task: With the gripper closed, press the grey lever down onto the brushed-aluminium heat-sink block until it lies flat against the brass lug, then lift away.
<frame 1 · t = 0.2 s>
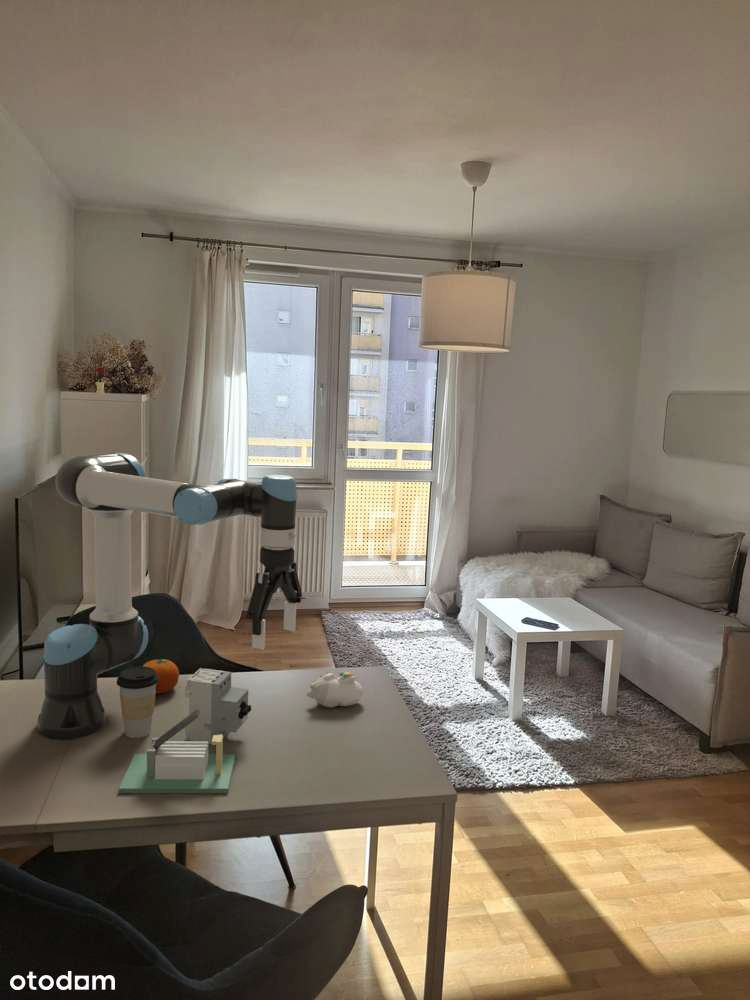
hand: (274, 638, 164), 28 cm above the table, fingers open, 13 cm apart
circuit breaker: (219, 737, 175), on the table
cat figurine: (334, 705, 196), on the table
grey lever: (174, 730, 156), point 10 cm above the table, hinge at 40.0°
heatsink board: (179, 774, 158), on the table
fruit: (158, 690, 199), on the table
coffee cup: (137, 733, 175), on the table
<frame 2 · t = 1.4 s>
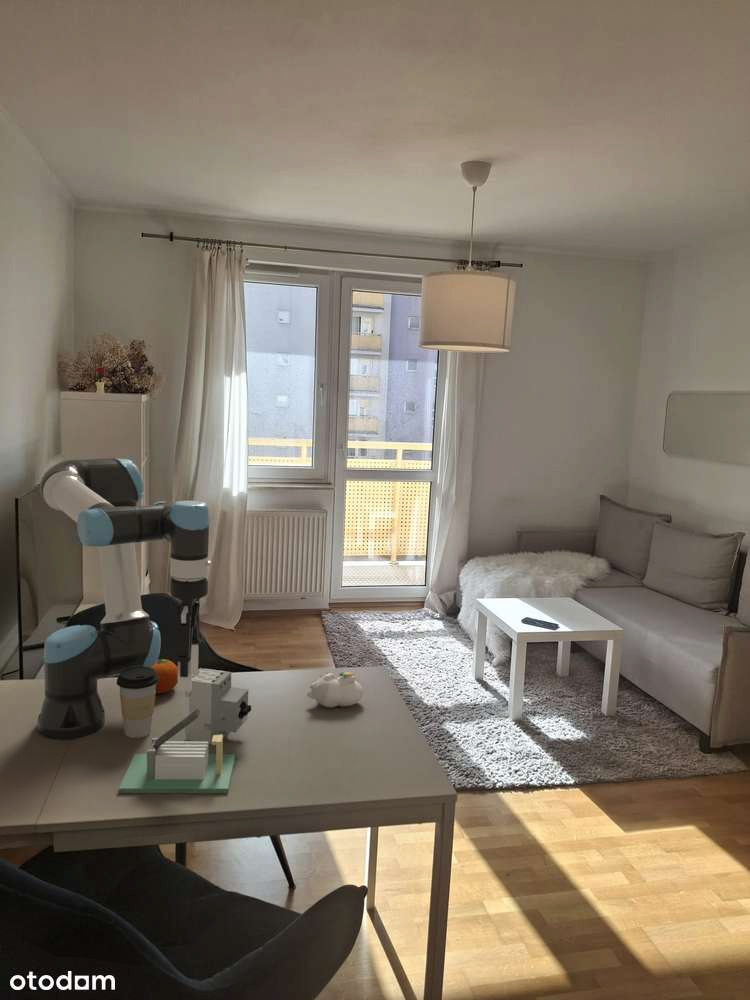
hand: (188, 681, 154), 21 cm above the table, fingers open, 8 cm apart
nothing on the table moved.
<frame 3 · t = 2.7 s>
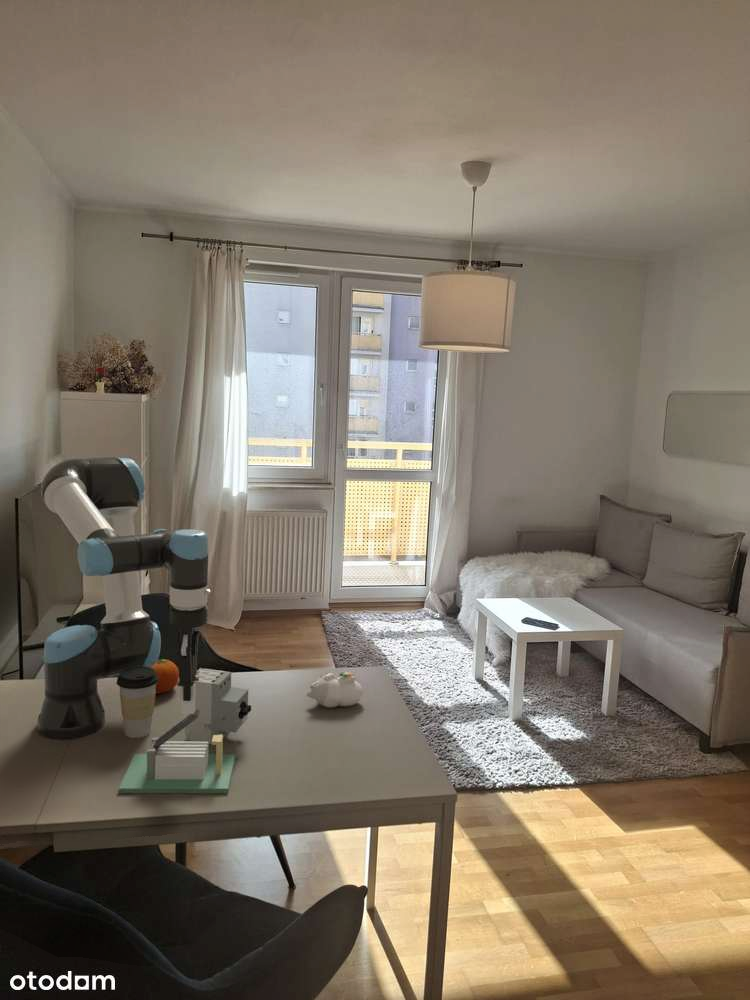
hand: (187, 712, 155), 14 cm above the table, fingers closed
grey lever: (174, 730, 156), point 10 cm above the table, hinge at 40.0°, touching gripper
everything else where it was.
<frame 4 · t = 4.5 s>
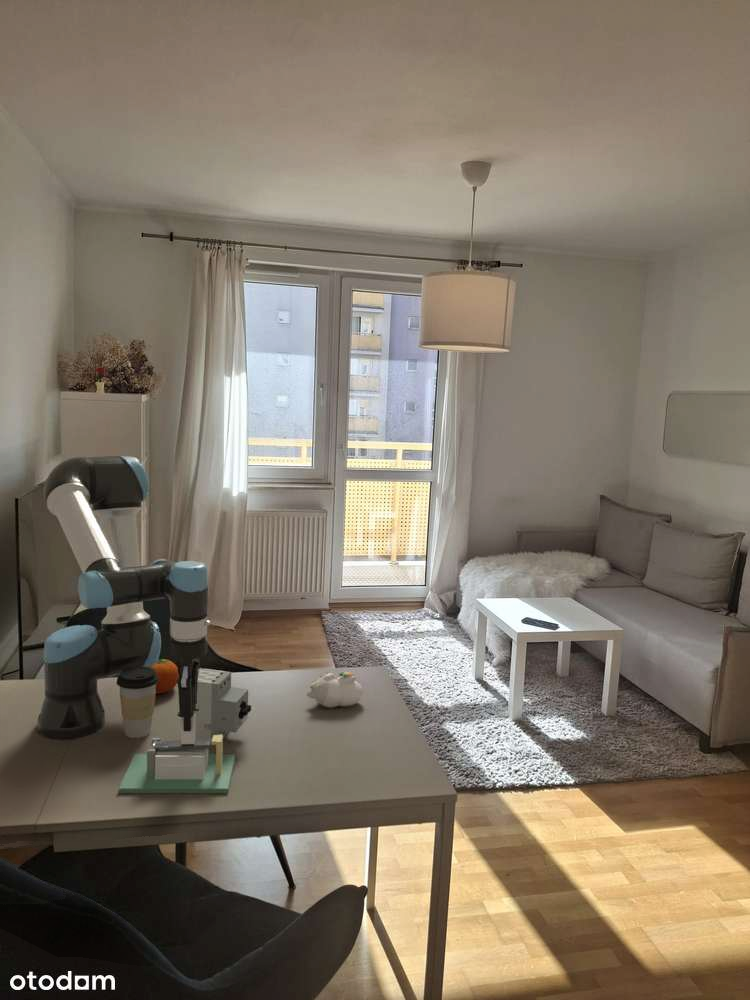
hand: (188, 742, 156), 8 cm above the table, fingers closed
grey lever: (180, 744, 157), point 7 cm above the table, hinge at 3.8°, touching gripper
everything else where it was.
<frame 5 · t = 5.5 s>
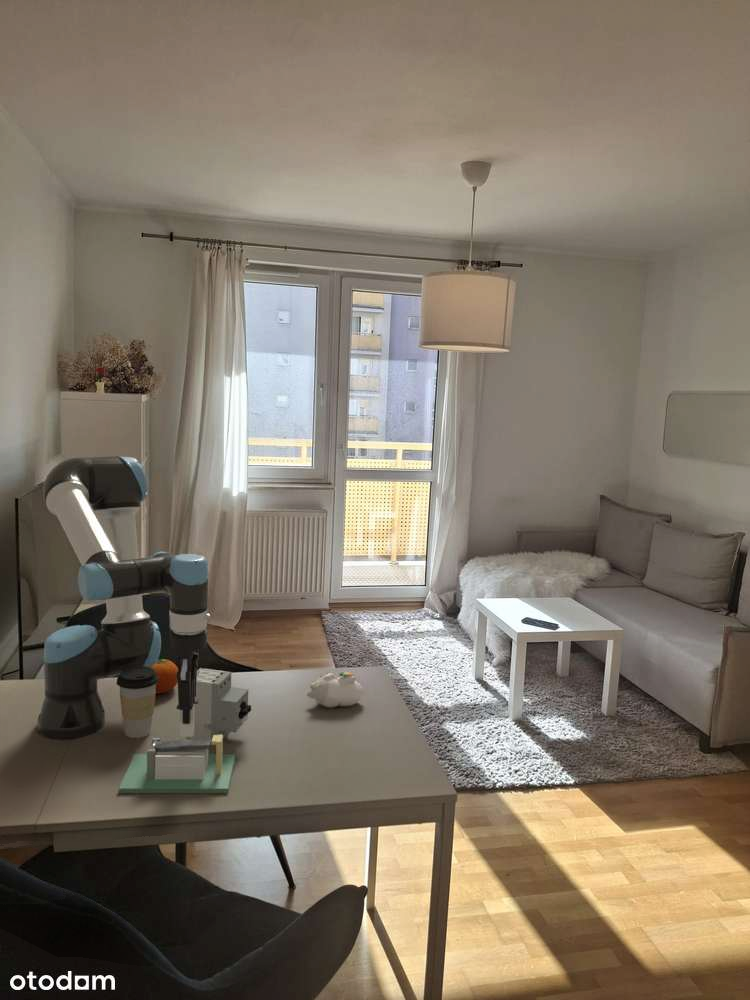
hand: (187, 734, 156), 9 cm above the table, fingers closed
grey lever: (180, 745, 157), point 7 cm above the table, hinge at 3.7°
everything else where it was.
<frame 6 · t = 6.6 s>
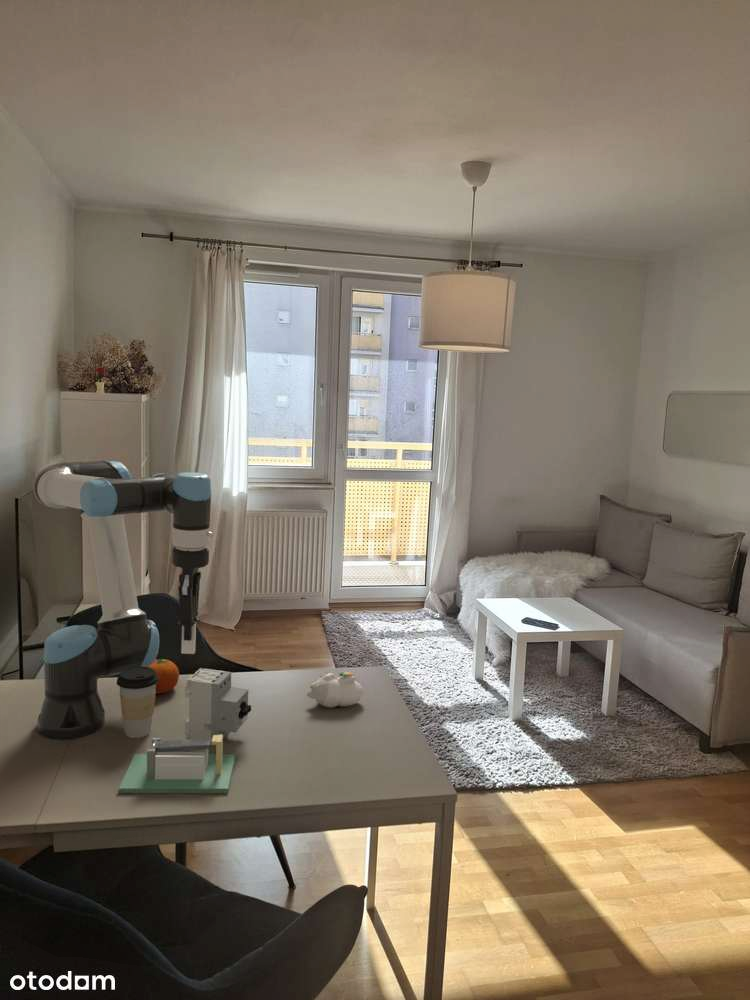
hand: (188, 652, 159), 26 cm above the table, fingers closed
nothing on the table moved.
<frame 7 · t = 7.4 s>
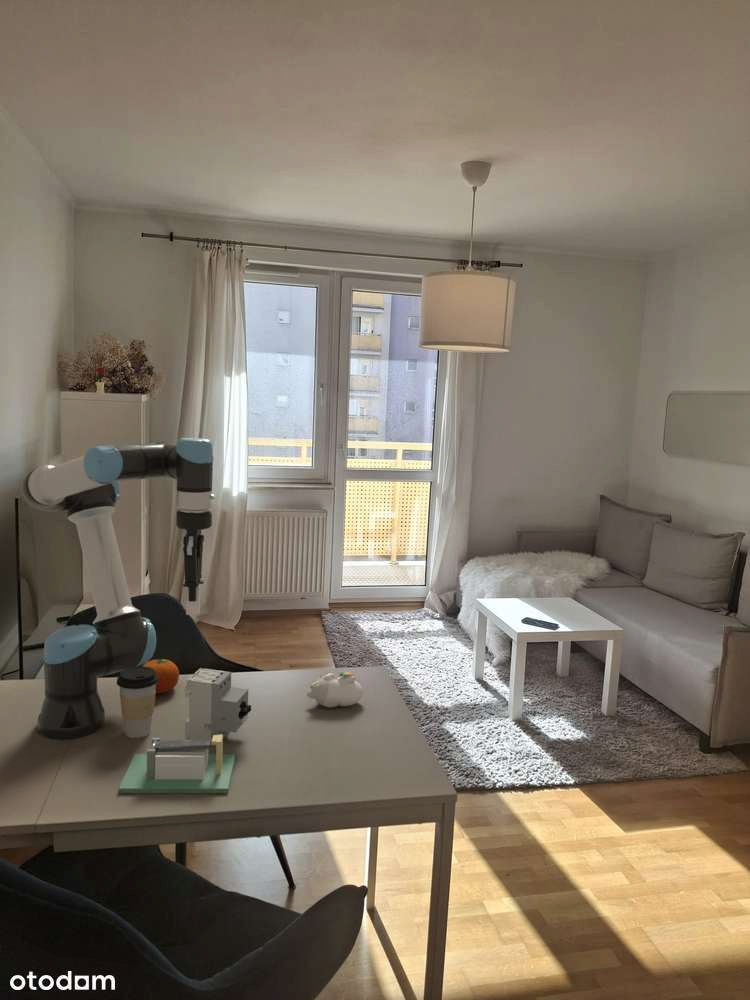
hand: (193, 613, 164), 32 cm above the table, fingers closed
nothing on the table moved.
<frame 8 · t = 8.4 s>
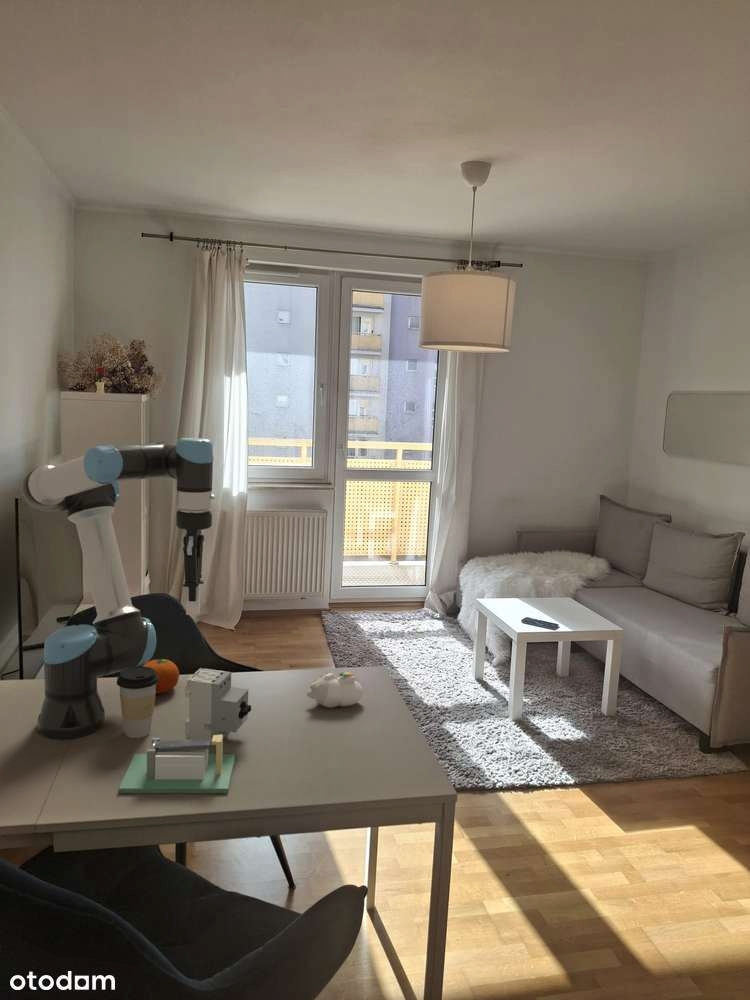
hand: (193, 613, 164), 32 cm above the table, fingers closed
nothing on the table moved.
at the end: grey lever at +4° (first picture: +40°); grey lever touching nothing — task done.
